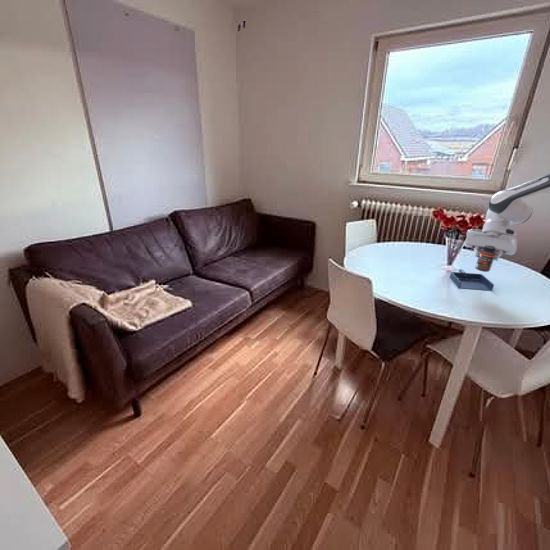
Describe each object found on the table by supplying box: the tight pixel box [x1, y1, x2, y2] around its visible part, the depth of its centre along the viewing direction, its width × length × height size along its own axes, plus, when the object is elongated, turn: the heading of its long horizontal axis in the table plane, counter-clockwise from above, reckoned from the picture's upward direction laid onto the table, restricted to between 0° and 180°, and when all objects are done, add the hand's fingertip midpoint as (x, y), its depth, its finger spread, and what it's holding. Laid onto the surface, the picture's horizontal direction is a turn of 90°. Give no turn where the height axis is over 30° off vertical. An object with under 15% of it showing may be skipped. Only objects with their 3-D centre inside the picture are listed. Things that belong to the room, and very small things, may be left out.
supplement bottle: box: [475, 245, 497, 273], centre depth 142 cm, size 6×6×11 cm
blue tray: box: [449, 268, 495, 292], centre depth 158 cm, size 20×15×3 cm
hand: (486, 258), depth 141 cm, fingers closed on supplement bottle, 6 cm apart
